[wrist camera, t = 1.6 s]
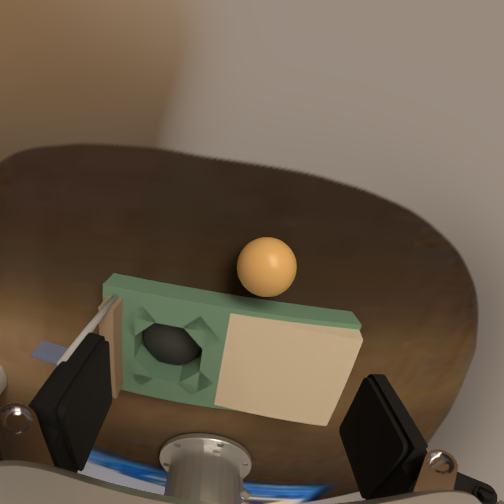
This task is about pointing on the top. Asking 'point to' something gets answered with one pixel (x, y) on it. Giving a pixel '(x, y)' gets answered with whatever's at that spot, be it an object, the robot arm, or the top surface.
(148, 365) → the putting mat
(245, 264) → the ball
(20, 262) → the top surface
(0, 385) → the coffee cup
